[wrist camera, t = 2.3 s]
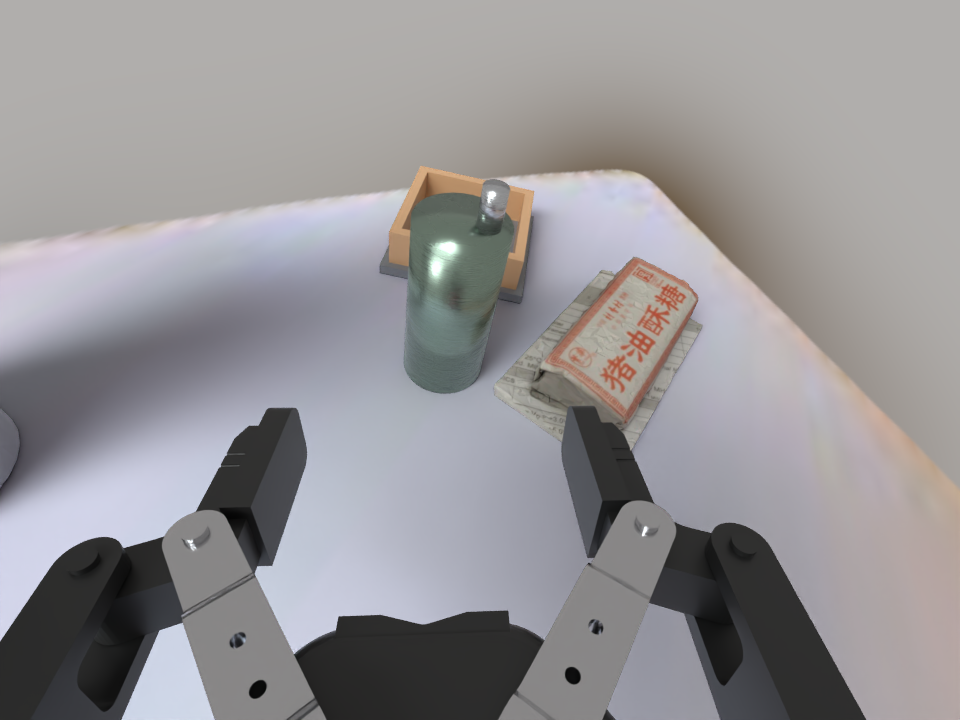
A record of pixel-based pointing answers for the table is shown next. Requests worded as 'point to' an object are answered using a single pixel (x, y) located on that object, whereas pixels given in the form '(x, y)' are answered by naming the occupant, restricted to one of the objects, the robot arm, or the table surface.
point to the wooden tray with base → (448, 182)
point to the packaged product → (607, 352)
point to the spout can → (454, 284)
